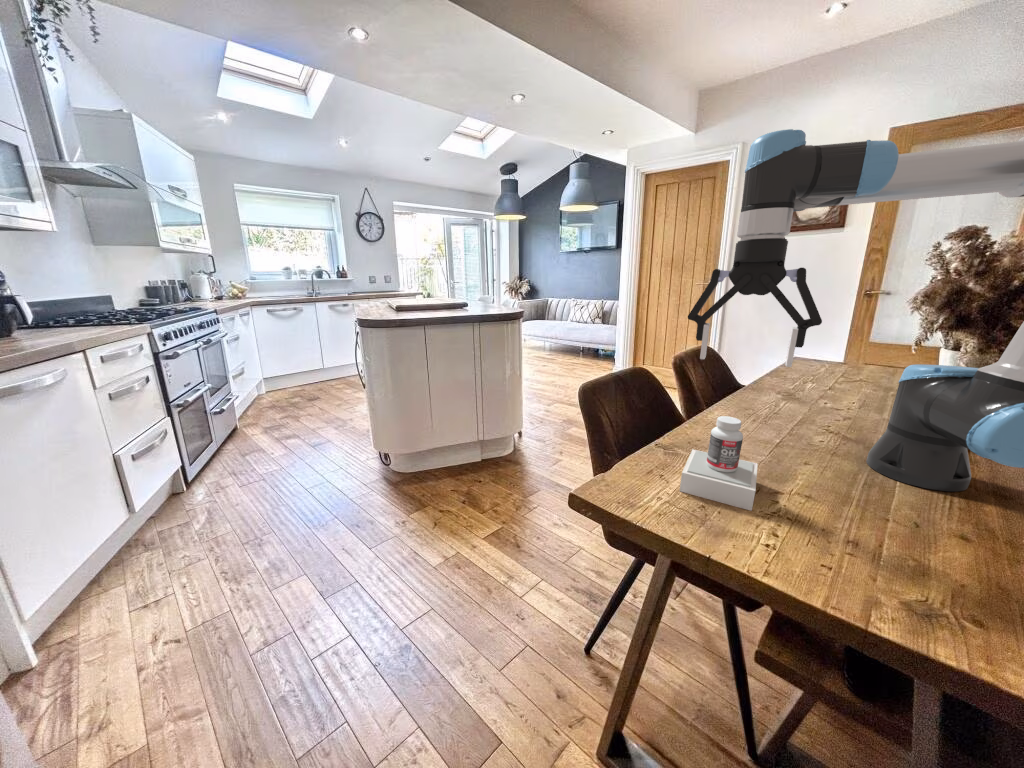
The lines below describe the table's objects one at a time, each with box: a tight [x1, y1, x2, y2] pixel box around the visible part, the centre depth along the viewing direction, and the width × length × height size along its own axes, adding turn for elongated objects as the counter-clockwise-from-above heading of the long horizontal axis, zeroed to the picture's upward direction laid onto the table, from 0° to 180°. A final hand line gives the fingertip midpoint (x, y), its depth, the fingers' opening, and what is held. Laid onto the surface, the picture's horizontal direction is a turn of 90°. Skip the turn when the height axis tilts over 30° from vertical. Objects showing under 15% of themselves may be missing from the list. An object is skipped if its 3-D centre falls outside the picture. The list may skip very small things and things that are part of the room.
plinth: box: [679, 448, 759, 511], centre depth 76 cm, size 12×12×4 cm
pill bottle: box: [707, 415, 744, 472], centre depth 74 cm, size 5×5×10 cm
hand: (743, 361), depth 72 cm, fingers open, 13 cm apart
